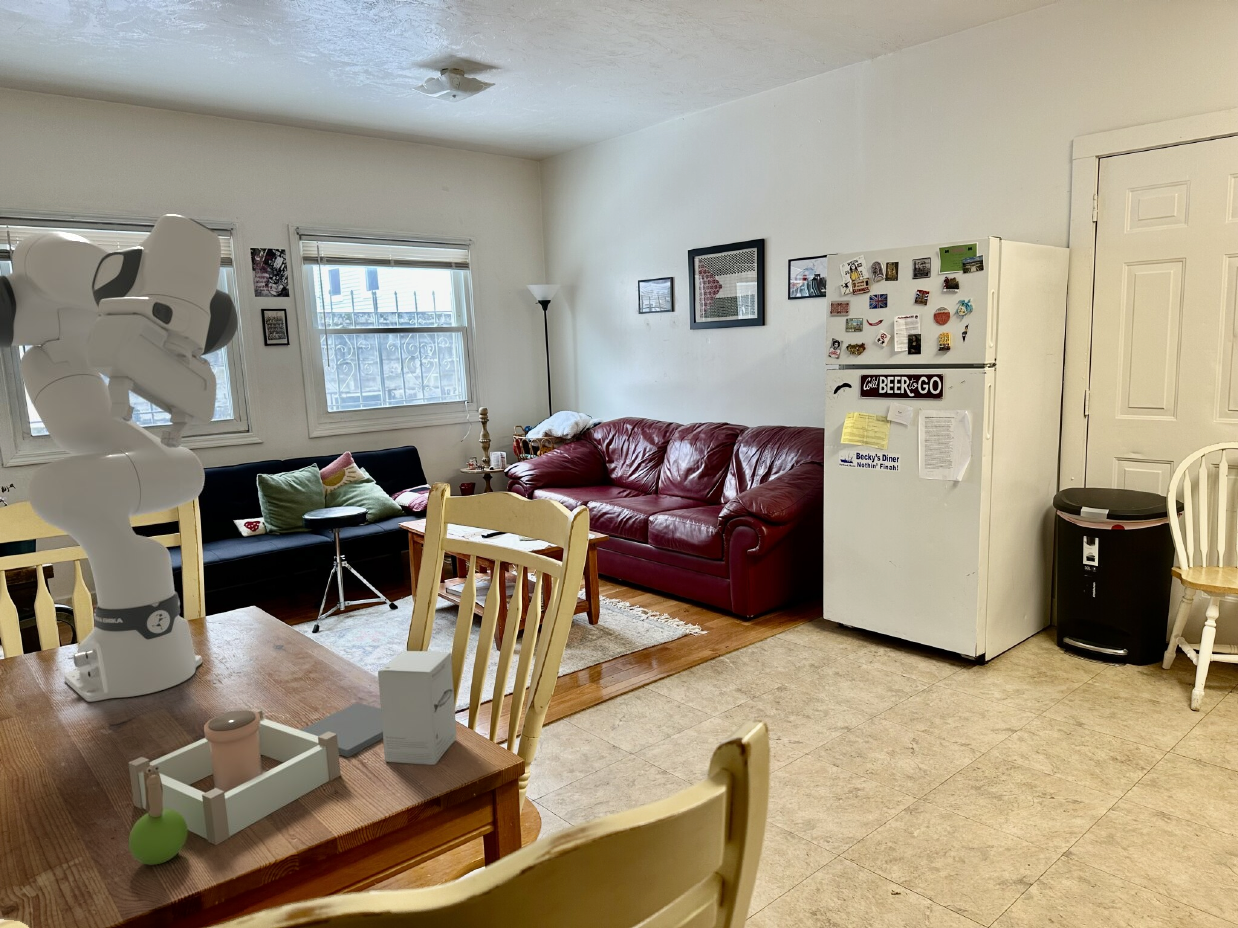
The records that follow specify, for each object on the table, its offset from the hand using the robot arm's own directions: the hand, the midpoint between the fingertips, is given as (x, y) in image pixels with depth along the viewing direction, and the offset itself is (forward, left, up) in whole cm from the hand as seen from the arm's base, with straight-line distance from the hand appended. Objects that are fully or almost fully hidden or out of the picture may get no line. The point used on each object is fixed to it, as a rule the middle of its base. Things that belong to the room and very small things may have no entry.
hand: (145, 433), depth 101 cm
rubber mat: (+11, +18, -44) cm, 49 cm away
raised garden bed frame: (+11, 0, -44) cm, 45 cm away
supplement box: (+24, +18, -44) cm, 54 cm away
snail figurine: (+17, -13, -44) cm, 49 cm away
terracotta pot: (+11, 0, -44) cm, 45 cm away
